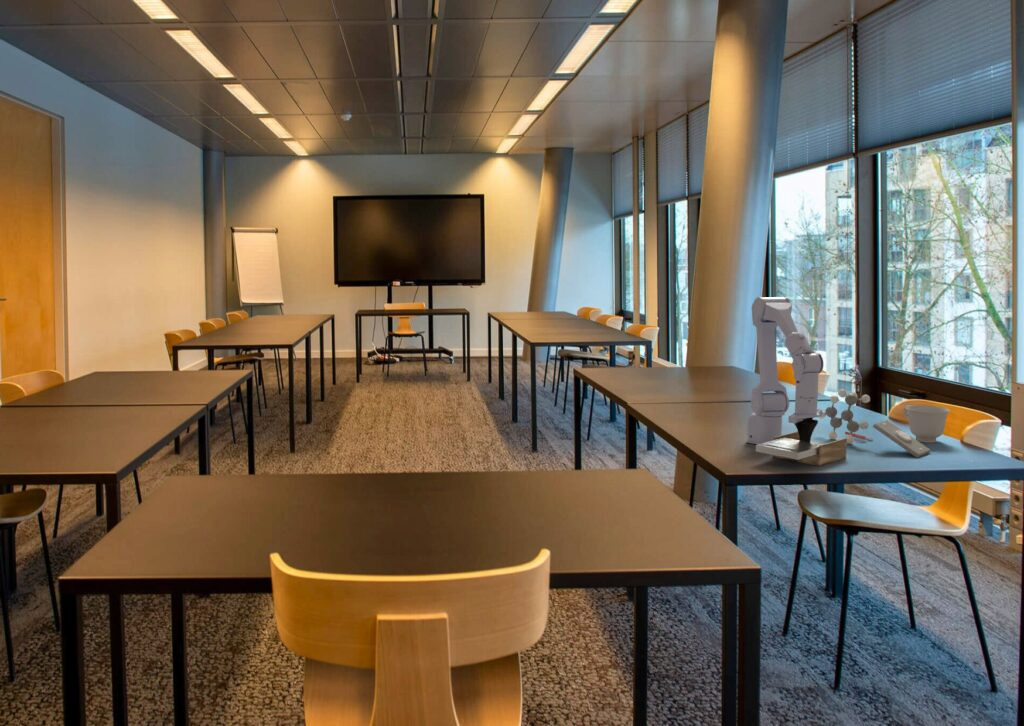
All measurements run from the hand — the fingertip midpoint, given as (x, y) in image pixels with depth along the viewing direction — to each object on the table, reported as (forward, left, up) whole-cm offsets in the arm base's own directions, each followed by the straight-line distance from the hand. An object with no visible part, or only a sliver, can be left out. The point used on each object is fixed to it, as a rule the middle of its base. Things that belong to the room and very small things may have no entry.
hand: (804, 445), depth 216 cm
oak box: (0, +3, -4) cm, 5 cm away
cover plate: (0, -7, -1) cm, 7 cm away
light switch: (+14, +29, -4) cm, 32 cm away
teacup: (+11, +50, -4) cm, 51 cm away
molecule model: (-4, +34, -4) cm, 34 cm away
